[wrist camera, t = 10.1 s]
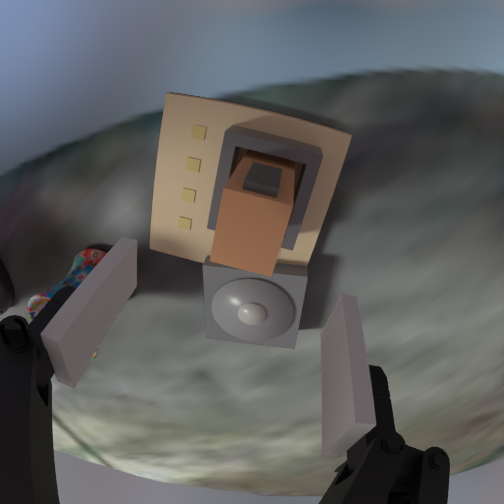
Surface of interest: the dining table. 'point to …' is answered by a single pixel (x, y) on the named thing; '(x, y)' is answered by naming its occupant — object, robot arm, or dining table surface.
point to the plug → (254, 213)
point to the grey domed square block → (254, 304)
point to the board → (224, 164)
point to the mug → (68, 280)
